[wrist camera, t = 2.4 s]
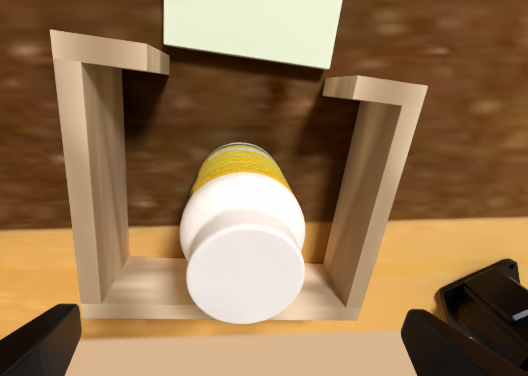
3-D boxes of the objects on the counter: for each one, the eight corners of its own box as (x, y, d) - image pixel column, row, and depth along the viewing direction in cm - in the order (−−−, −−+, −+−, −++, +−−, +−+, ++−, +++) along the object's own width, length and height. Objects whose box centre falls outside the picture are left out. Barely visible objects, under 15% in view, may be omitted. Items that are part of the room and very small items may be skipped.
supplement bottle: (187, 149, 17) (140, 221, 8) (273, 134, 17) (322, 187, 8) (207, 226, 19) (187, 354, 10) (284, 211, 19) (333, 322, 10)
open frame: (379, 86, 17) (428, 86, 13) (332, 275, 22) (357, 320, 18) (101, 45, 15) (49, 29, 11) (114, 267, 19) (82, 318, 15)
